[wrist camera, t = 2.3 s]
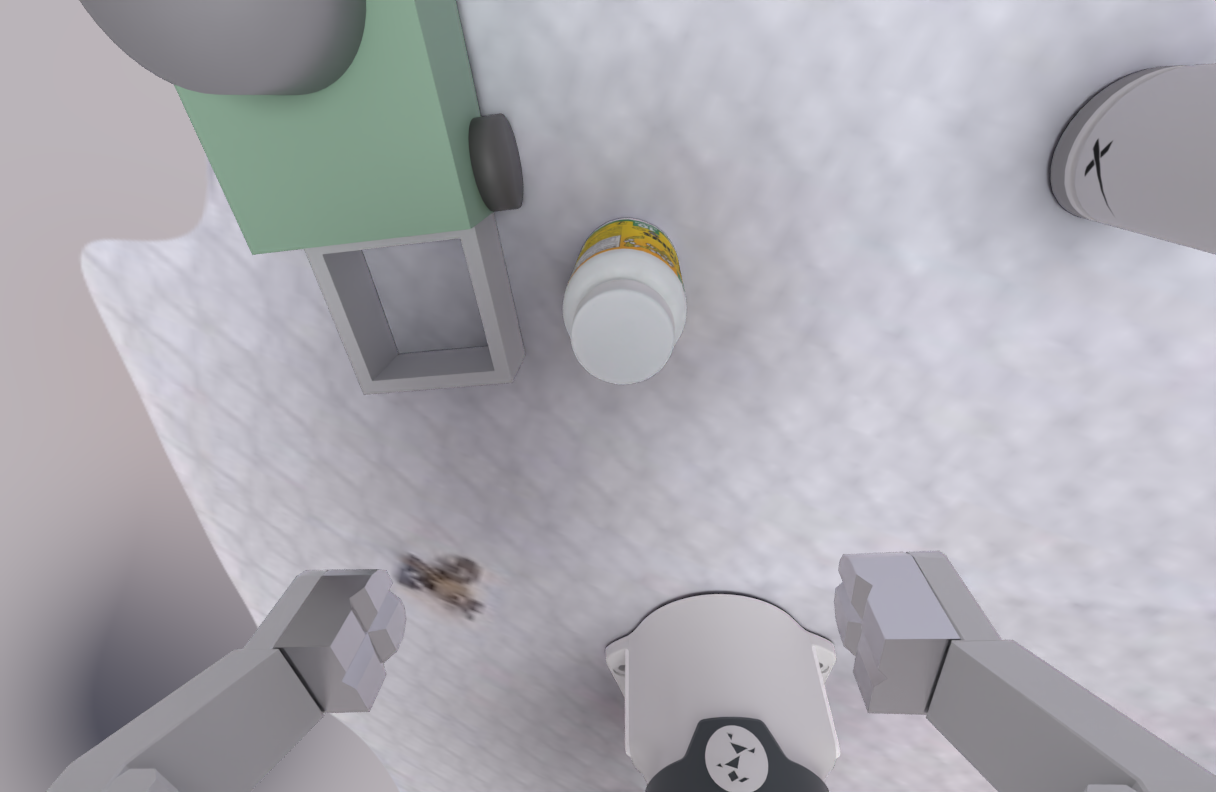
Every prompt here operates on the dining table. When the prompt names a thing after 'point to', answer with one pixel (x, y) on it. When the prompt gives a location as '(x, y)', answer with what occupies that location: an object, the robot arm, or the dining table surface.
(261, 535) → the dining table surface
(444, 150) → the green toy truck
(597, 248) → the supplement bottle
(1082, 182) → the travel mug
